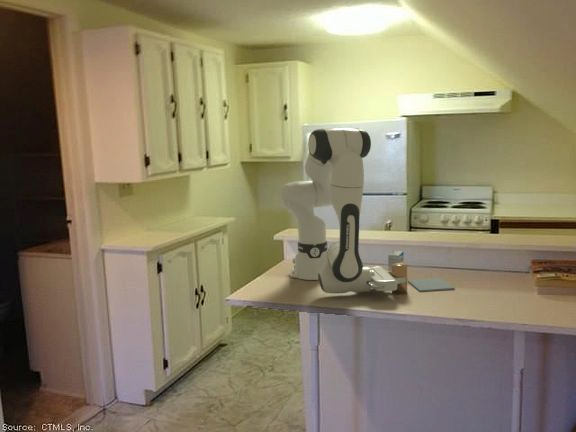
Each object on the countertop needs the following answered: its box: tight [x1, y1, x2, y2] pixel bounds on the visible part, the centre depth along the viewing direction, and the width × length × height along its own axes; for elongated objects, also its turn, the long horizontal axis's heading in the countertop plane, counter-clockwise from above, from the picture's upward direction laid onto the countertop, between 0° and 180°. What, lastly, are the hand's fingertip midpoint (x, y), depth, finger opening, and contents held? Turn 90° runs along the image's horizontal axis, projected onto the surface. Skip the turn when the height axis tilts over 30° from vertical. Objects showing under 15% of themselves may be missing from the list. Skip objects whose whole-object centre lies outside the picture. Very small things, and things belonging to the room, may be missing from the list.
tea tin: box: [391, 262, 408, 295], centre depth 187 cm, size 6×6×10 cm
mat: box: [407, 277, 456, 293], centre depth 194 cm, size 13×13×1 cm
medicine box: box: [387, 250, 405, 271], centre depth 210 cm, size 8×4×9 cm, turn 154°
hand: (401, 276), depth 187 cm, fingers closed on tea tin, 5 cm apart
